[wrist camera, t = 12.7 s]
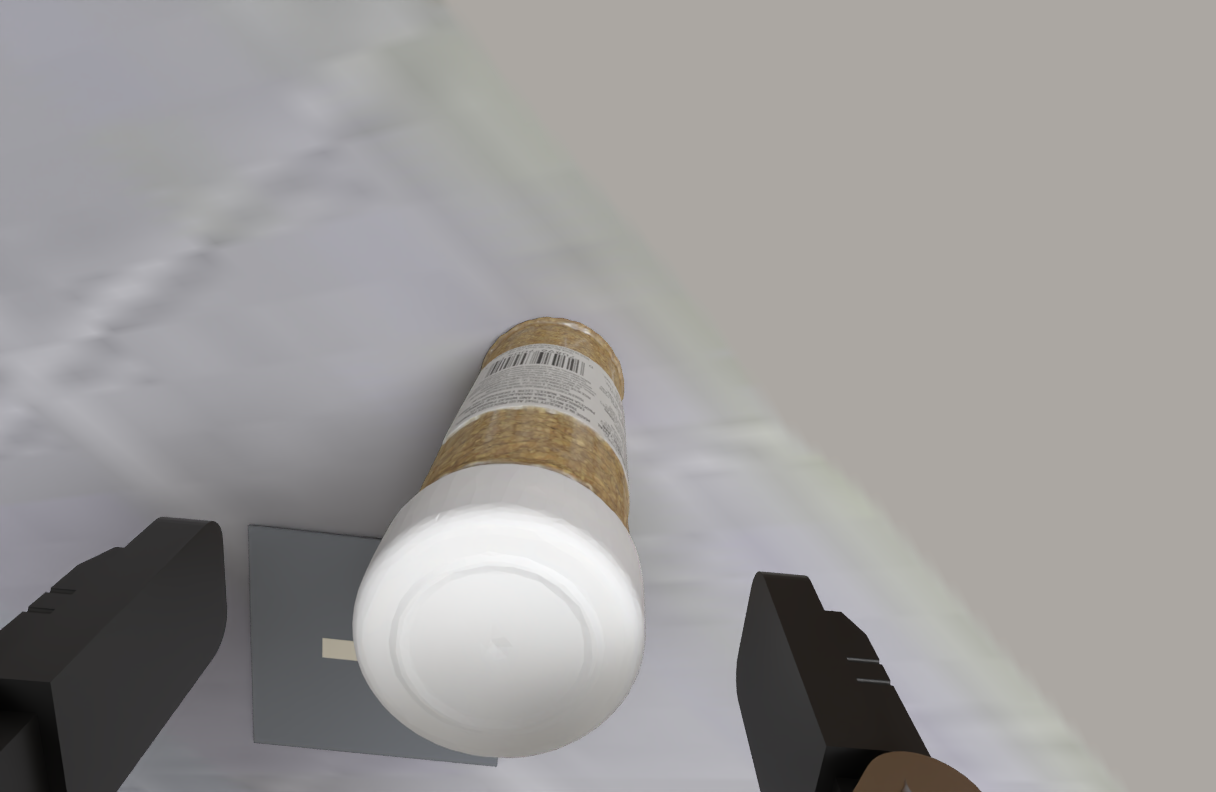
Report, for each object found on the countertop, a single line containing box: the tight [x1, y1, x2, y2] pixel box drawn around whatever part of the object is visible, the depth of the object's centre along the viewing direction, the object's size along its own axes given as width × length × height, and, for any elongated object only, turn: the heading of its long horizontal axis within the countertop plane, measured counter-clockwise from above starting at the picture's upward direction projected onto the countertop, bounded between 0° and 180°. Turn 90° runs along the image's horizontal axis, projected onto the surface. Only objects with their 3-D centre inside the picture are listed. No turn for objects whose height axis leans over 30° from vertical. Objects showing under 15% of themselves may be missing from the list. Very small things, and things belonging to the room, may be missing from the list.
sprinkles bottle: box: [352, 317, 646, 758], centre depth 18 cm, size 5×5×14 cm
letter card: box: [248, 525, 498, 767], centre depth 28 cm, size 9×9×1 cm
